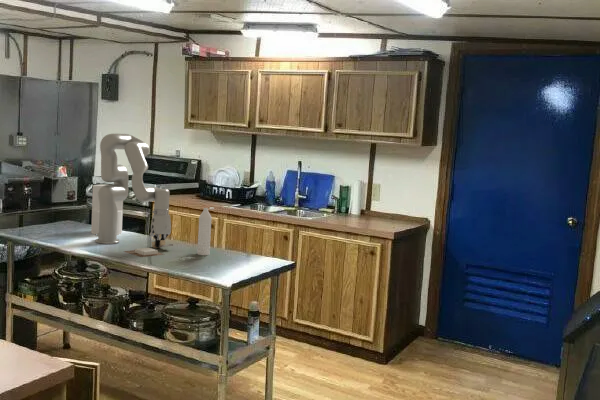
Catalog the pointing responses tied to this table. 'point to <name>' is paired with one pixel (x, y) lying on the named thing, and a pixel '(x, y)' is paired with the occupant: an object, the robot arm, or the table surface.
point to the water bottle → (204, 232)
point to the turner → (161, 244)
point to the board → (141, 255)
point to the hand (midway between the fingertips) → (159, 246)
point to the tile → (146, 251)
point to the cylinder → (97, 208)
